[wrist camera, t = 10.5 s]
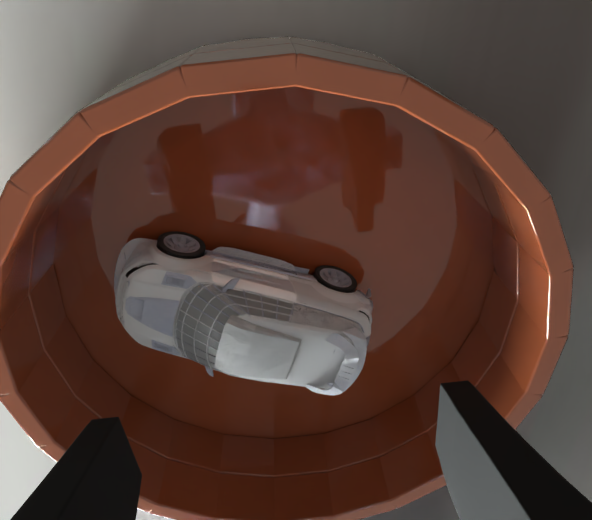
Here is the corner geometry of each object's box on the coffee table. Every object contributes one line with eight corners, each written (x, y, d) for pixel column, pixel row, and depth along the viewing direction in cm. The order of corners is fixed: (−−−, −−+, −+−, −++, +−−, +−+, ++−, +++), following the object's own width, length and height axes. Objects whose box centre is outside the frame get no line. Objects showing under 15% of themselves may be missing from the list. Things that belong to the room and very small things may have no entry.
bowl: (481, 416, 20) (526, 507, 16) (117, 453, 20) (85, 552, 16) (543, 7, 12) (652, 14, 9) (-48, 70, 12) (-174, 102, 9)
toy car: (124, 214, 14) (91, 267, 11) (376, 272, 15) (398, 330, 13) (112, 313, 16) (81, 377, 13) (340, 356, 17) (353, 422, 14)
